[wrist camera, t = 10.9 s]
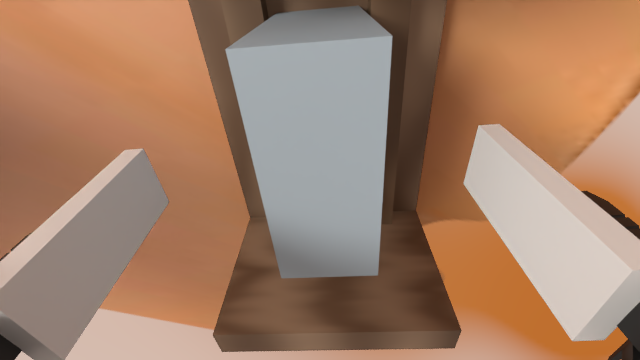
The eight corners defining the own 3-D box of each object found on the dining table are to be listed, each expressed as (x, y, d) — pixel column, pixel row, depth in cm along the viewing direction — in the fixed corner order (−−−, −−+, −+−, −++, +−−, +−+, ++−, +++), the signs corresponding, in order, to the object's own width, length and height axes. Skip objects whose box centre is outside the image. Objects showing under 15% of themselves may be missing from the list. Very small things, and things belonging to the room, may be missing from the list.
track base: (257, 224, 27) (222, 351, 18) (154, -155, 13) (-224, -445, 4) (409, 218, 26) (454, 348, 17) (466, -194, 13) (846, -662, 3)
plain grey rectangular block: (298, 165, 22) (281, 278, 14) (277, 12, 16) (225, 49, 8) (358, 161, 22) (378, 275, 13) (358, 5, 16) (392, 35, 8)
